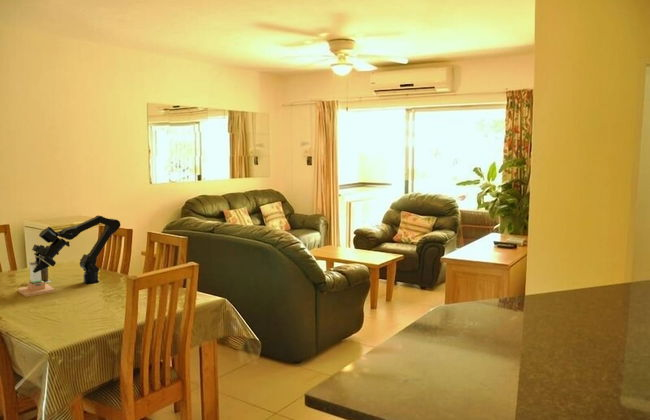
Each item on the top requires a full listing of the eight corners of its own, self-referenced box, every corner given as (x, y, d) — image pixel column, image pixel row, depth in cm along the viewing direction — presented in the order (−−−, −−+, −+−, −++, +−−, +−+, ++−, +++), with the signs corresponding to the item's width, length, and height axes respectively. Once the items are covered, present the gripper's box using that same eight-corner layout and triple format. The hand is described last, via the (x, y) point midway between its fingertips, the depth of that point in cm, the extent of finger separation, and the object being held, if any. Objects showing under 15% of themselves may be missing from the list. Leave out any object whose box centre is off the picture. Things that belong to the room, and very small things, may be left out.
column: (40, 279, 266) (39, 261, 265) (42, 281, 263) (41, 262, 262) (29, 281, 263) (28, 262, 261) (32, 283, 259) (31, 263, 258)
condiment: (48, 278, 289) (47, 258, 287) (51, 282, 282) (50, 261, 281) (33, 280, 284) (32, 260, 283) (36, 284, 278) (35, 262, 276)
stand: (47, 286, 273) (46, 277, 273) (55, 291, 263) (54, 282, 263) (18, 291, 263) (17, 281, 263) (25, 296, 253) (24, 287, 253)
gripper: (37, 236, 269) (15, 259, 263) (47, 241, 256) (24, 265, 250) (54, 248, 276) (32, 271, 270) (65, 254, 262) (42, 278, 256)
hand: (32, 271), depth 261 cm, fingers closed on column, 4 cm apart
